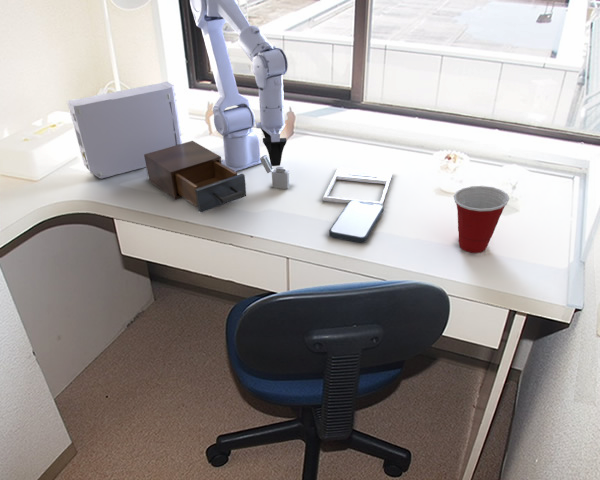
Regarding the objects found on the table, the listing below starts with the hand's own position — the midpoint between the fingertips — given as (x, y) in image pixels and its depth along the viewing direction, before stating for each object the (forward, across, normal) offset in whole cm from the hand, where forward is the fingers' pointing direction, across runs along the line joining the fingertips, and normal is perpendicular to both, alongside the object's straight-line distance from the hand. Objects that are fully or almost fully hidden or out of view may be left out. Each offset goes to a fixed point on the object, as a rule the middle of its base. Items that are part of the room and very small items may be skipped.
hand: (274, 159), depth 140 cm
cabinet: (+7, -6, -23) cm, 25 cm away
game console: (+8, -19, -37) cm, 43 cm away
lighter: (+8, 0, 0) cm, 8 cm away
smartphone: (+8, +22, +17) cm, 29 cm away
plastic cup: (+8, +36, +39) cm, 53 cm away
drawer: (+7, +6, -16) cm, 18 cm away
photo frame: (+7, +5, +21) cm, 23 cm away
